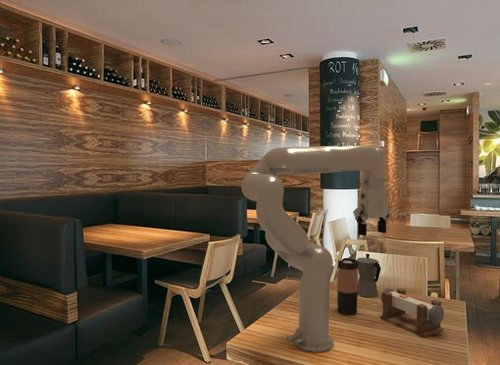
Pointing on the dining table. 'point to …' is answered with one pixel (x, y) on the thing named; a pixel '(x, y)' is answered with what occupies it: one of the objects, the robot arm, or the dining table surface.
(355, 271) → the travel mug
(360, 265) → the coffeepot
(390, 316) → the walnut rack
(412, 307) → the white bar grey caps
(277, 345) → the dining table surface
